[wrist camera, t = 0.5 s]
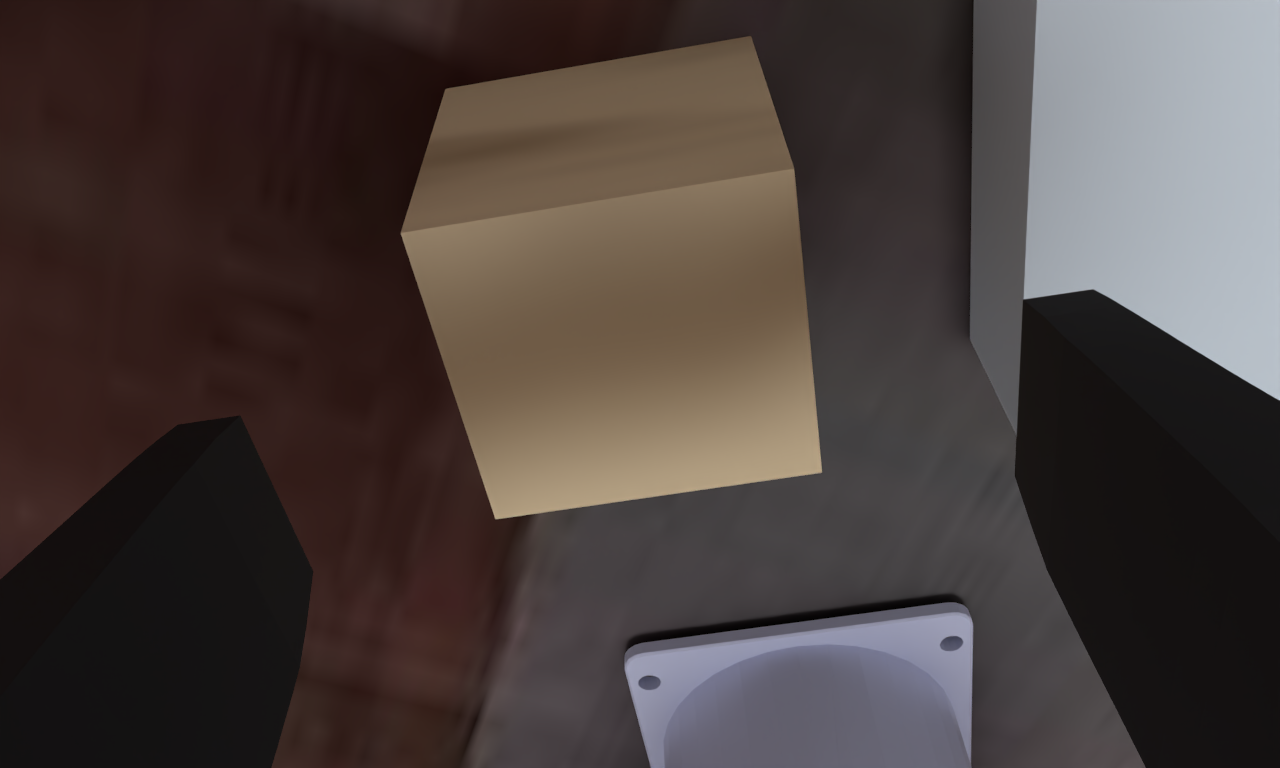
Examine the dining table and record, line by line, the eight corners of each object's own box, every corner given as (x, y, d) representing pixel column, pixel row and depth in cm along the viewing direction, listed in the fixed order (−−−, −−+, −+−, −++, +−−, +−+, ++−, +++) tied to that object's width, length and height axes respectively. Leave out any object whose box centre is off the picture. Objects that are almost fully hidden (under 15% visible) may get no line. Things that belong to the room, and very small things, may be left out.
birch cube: (779, 297, 21) (821, 472, 17) (515, 338, 21) (495, 519, 17) (750, 34, 18) (794, 168, 14) (445, 86, 18) (400, 233, 14)
